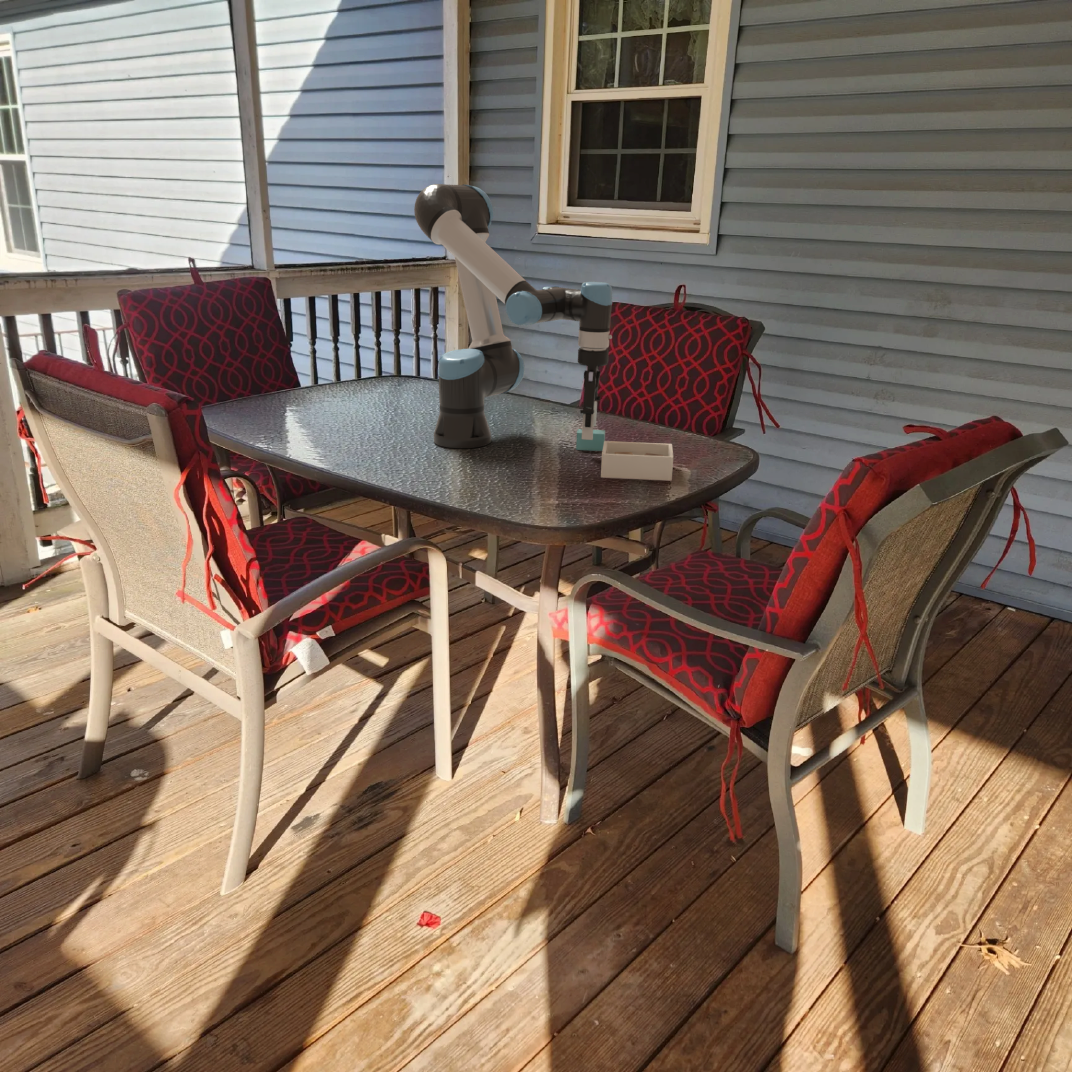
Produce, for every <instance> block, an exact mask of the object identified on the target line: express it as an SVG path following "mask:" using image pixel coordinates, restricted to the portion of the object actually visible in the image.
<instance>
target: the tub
mask: <svg viewBox="0 0 1072 1072" xmlns="http://www.w3.org/2000/svg"><path fill="white" fill-rule="evenodd" d="M615 452H632V454H633V455H627V454H615ZM646 453H650V454H659V455H663V456H649V455H645V454H646ZM600 464H601V468H600V478H602V479H603V478H604V479H605V478H606V479H623V480H624V479H625V480H628V479H629V480H650V481H664V482H665V481H667V482H668V481H670V482H671V481H673V480H672V479H673V468H674V467H673V466H674V452H673V444H672V443H662V442H661V443H659V442H656V443H655V442H639V441H636V442H634V441H633V442H632V441H616V440H615V441H613V440H612V441H611V440H605V441H604V445H603V451H601V463H600Z"/></svg>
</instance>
